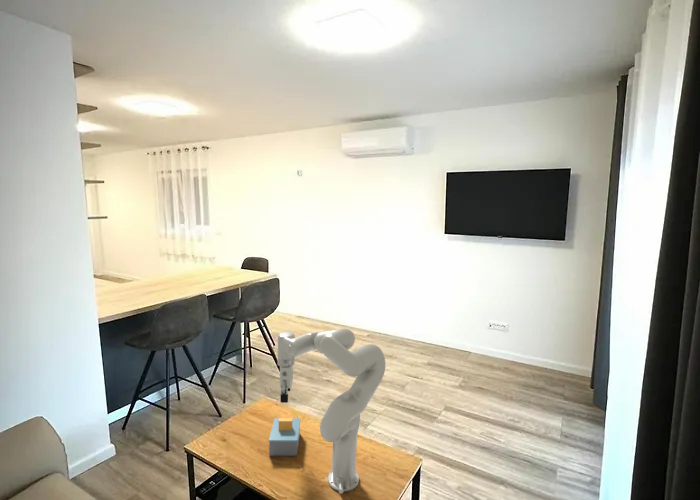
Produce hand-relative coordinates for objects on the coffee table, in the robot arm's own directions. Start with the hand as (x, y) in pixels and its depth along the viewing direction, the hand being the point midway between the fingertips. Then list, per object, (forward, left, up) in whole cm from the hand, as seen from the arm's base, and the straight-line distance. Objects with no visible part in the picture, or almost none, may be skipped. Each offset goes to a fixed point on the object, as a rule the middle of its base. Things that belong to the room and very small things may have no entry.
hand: (285, 396), depth 171 cm
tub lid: (0, 0, -18) cm, 18 cm away
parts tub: (0, 0, -24) cm, 24 cm away
